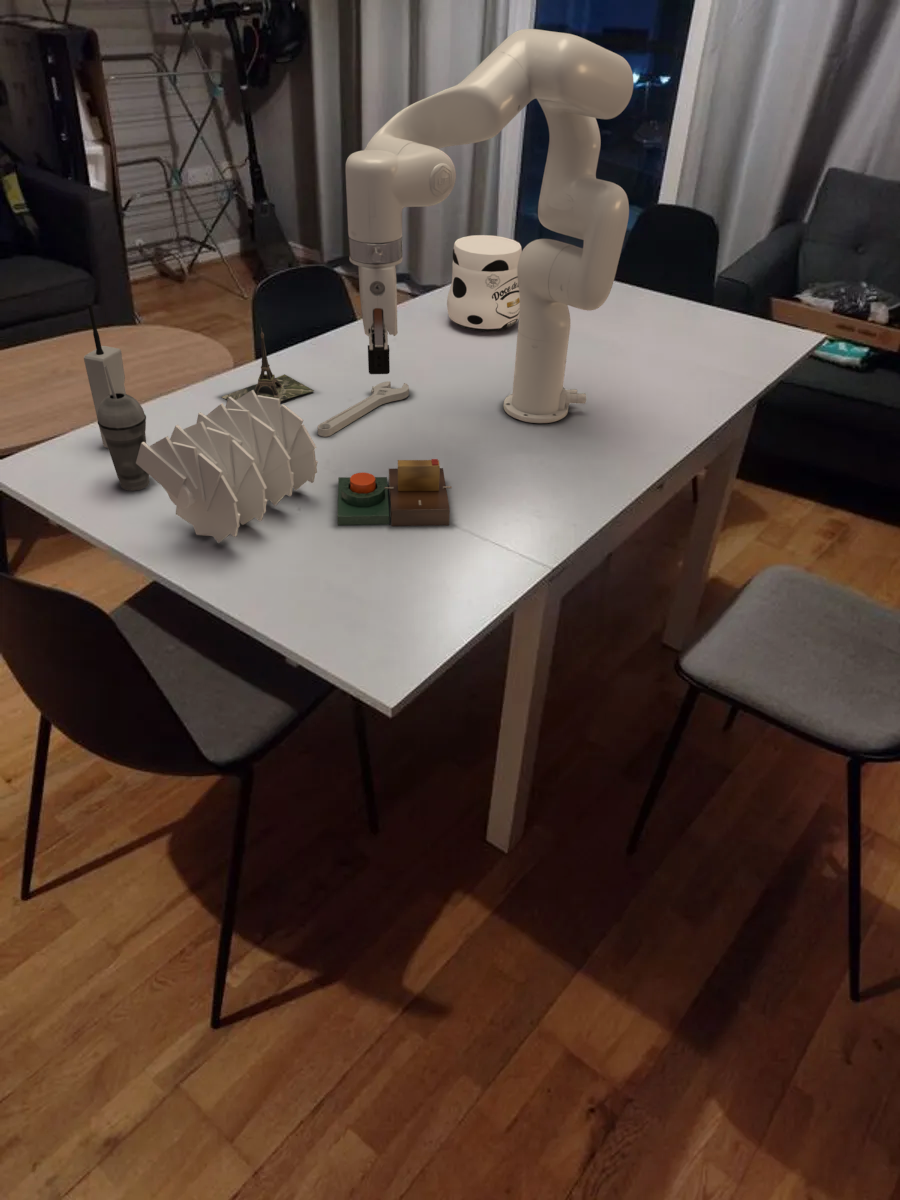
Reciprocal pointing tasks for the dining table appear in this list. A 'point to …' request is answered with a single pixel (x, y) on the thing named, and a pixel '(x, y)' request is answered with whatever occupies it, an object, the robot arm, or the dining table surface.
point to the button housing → (363, 504)
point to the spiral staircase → (232, 463)
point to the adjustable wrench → (363, 407)
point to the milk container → (484, 283)
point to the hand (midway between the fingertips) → (379, 371)
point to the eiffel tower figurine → (272, 383)
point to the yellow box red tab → (418, 475)
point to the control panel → (418, 504)
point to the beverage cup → (124, 436)
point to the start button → (362, 483)
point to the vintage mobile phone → (103, 370)
